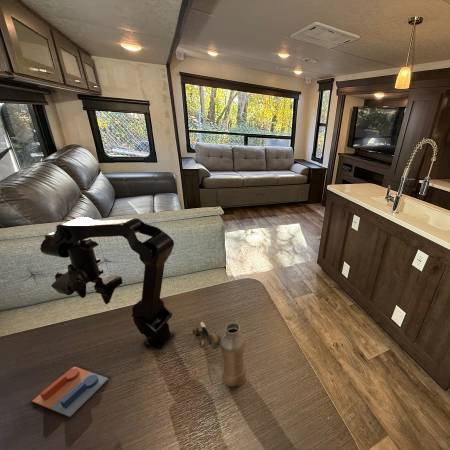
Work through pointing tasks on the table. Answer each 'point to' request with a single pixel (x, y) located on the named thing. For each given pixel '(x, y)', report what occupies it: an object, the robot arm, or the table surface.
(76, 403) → the mat
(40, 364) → the table surface
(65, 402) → the blue spoon
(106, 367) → the table surface
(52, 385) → the terracotta spoon
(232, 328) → the plastic bottle
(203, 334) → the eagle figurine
